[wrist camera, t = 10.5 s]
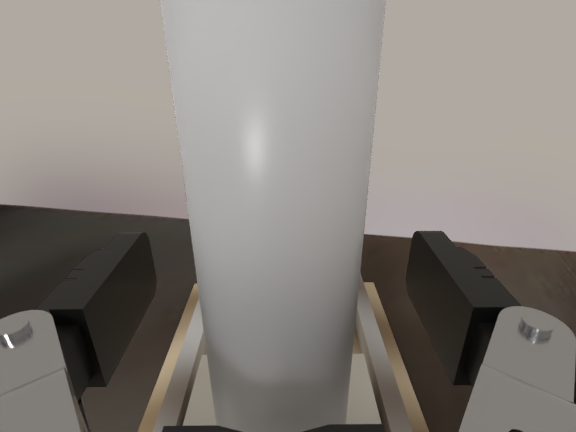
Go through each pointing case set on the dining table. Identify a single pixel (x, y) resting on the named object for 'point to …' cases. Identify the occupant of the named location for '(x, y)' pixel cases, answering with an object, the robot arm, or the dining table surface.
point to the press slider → (276, 202)
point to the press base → (367, 340)
